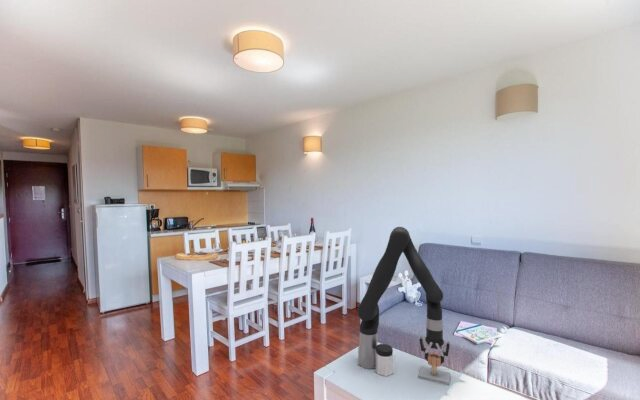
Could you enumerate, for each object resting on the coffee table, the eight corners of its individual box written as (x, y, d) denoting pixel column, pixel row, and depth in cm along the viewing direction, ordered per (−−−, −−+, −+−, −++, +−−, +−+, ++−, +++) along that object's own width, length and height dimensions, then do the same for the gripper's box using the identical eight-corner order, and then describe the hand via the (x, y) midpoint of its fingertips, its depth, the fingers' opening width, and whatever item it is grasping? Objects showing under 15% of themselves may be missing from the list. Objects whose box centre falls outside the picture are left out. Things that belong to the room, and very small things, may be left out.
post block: (417, 377, 151) (418, 358, 150) (420, 368, 159) (420, 350, 159) (449, 385, 145) (449, 365, 144) (450, 375, 153) (450, 356, 153)
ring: (427, 364, 150) (427, 357, 150) (428, 359, 155) (428, 352, 155) (440, 367, 147) (440, 360, 147) (441, 361, 153) (441, 354, 153)
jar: (383, 378, 150) (383, 353, 150) (372, 370, 157) (372, 346, 157) (396, 372, 155) (396, 348, 155) (384, 365, 162) (384, 342, 162)
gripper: (417, 327, 151) (417, 362, 151) (450, 332, 145) (450, 369, 145) (420, 321, 158) (420, 354, 158) (450, 326, 151) (451, 361, 152)
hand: (434, 361), depth 151 cm, fingers closed on ring, 6 cm apart
